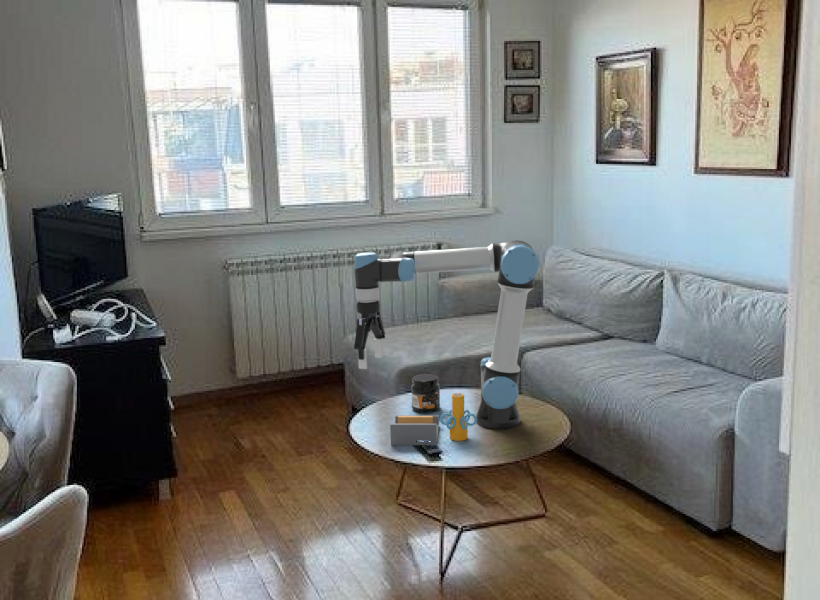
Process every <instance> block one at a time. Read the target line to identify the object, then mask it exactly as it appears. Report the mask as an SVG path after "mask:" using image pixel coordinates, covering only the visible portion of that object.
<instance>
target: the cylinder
mask: <svg viewBox="0 0 820 600" xmlns="http://www.w3.org/2000/svg"><path fill="white" fill-rule="evenodd" d="M466 413H467V414H466ZM445 416H448V418H447V420H446V422H445V421H444V420H443V417H445ZM471 417H472V418H473V419H474V420H473V422H471V423H470V422H469V420H470V418H471ZM439 422H440V423H441V424H442V425H444V426H446V427H447V428H448V430H449V439H450V441H451V440H452V441H456V442H460V441H461V442H462V441H465V440H467V439H468V437H469V436H468V433H469V432H468V431H469V430H468V429H469V428H468V426H469V427H470V426H471V427H473V426H475V425H476V424H477V418H476V415H475V414H474V413H471V411H470V410H468V409H465V394H464V393H461V392H455V393H452V394H451V409H450V410H449V411H448V412H444V413H442V414H441V415H439Z"/></svg>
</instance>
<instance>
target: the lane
mask: <svg viewBox="0 0 820 600" xmlns="http://www.w3.org/2000/svg"><path fill="white" fill-rule="evenodd" d="M398 416H433V423H398ZM394 419H395V420H394V421H395V422H394V423H392V422H391V423H389V426H390V427H389V429H390V433H389V434H390V446H437V445H438V440H439V439H438V438H439V437H438V435H439V430H440V429H439V428H440V415H438V414H437V415H433V414H432V415H431V414H430V415H429V414H428V415H427V414H426V415H425V414H424V415H423V414H421V415H418V414H416V415H415V414H413V415H412V414H410V415H409V414H408V415H406V414H405V415H403V414H402V415H398V414H397V415H394ZM417 440H429V441H431V442H416V441H417ZM426 443H427V444H426ZM425 444H426V445H425Z"/></svg>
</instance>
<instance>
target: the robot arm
mask: <svg viewBox="0 0 820 600" xmlns="http://www.w3.org/2000/svg"><path fill="white" fill-rule="evenodd" d="M539 265H540V262H539V257H538V255H537V253H536V252H535V250H534V249H533V247H532V246H531V245H530V244H529V243H527V242H525V241H523V240H509V241H508V240H507V241H502V242H493V243H490V244H489V246H480V247H479V246H478V247H465V248H461V247H460V248H452V249H451V248H450V249H435V250H420V251H418V250H417V251H407V252H406V251H403V250H399V251H396V252H394V253H392V255H391V256H390V257H389V258H379V257H378V255H377V253H376V252H360V253H357V254H355V255H354V268H353V271H354V281H355V282H354V283H355V290H354V292H355V296H356V298H355V299H356V300H357V301H356V312H357V313H358V314H361V317H360V318H357V319H356V331H355V340H354V345H353V349H354V350H357V359H358V360H357V362H358V369H359V370H367V369H368V357H367V356H368V355H367V349H366V345H367V342H368V337H369V332H372V335H373V336H374V338H373V343H374V344H373V345H374V359H375V358H376V359H384V347H383V345H384V344H383V339H386V331H385V328H384V324H383V320H382V318H381V311H380V310H381V306H380V305H381V304H380V288H379V283H383V282H384V283H387V282H388V283H389V282H391V283H392V282H403V283H404V282H410V281H414V280H415V278H416V274H417V275H418V274H430V273H431V274H432V273H433V274H434V273H447V272H461V271H462V272H464V271H465V272H466V271H481V270H490V271H492V272H493V273H494V272H495V273H496V272H498V277H497V281H496V282H497V285H498V286H499V288H500V294H499V300H498V308H497V315H496V321H495V329H494V335H493V342H492V346H491V347H492V350H491V356H490V357H489V356H488V357H483V358H482V359H481V360H480V396H481V397H480V403H479V407H478V409H477V412H476V415H475V416H476V418H477V422H476V424H477V425H479V426H480V427H483V428H488V429H498V430H501V429H503V430H505V429H511V428H514V427H516V426H518V425H520V423H521V415H520V411H519V409H518V406H517V403H516V401H517V399H518V397H519V393H520V392H519V383H520V382H519V380H520V374H521V367H520V366H519V364H518V357H519V351H520V346H521V345H520V344H521V338H522V332H523V327H524V325H523V324H524V319H525V313H526V308H527V307H526V306H527V300H528V294H529V292H530V291H532V290H533V289H534V287H535V286H534V285H535V280H536V275H537V273H538V271H539V268H540V267H539Z"/></svg>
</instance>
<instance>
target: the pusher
mask: <svg viewBox="0 0 820 600" xmlns="http://www.w3.org/2000/svg"><path fill="white" fill-rule="evenodd" d="M398 423H433V416H398Z"/></svg>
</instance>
